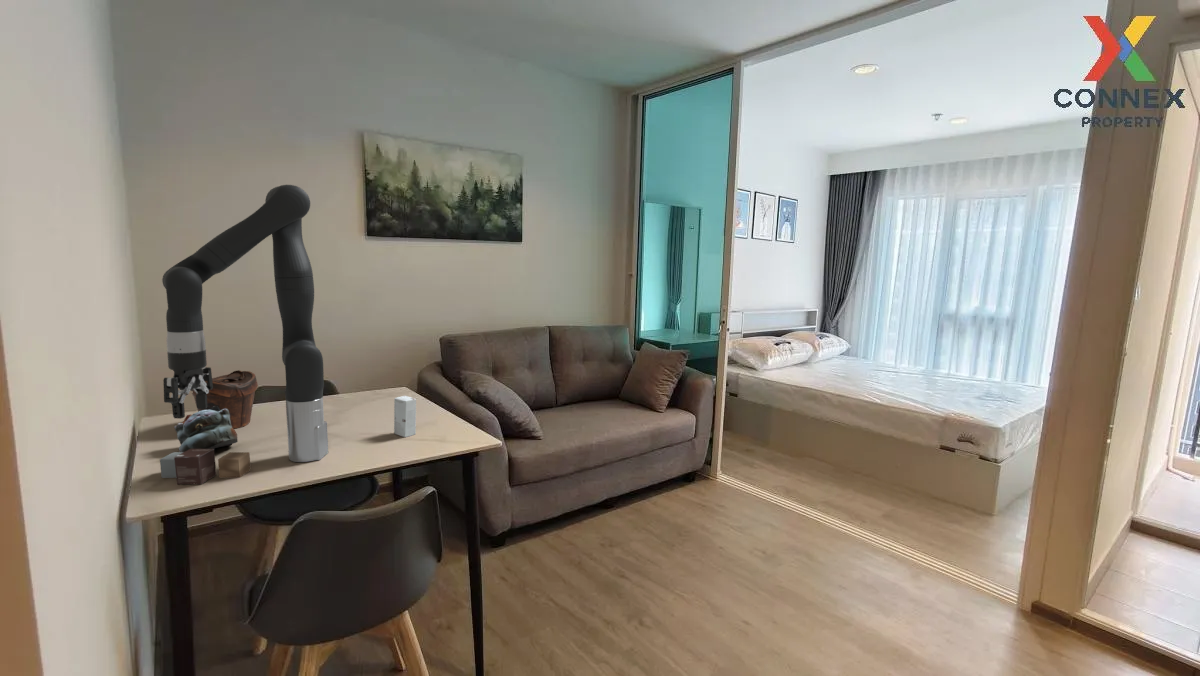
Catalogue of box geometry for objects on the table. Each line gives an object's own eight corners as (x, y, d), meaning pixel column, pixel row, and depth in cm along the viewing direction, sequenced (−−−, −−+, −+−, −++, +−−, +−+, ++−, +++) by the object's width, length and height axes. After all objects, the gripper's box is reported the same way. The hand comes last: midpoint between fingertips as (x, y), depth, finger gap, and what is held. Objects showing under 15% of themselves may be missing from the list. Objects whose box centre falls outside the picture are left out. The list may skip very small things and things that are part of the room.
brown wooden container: (266, 413, 192) (262, 364, 189) (252, 431, 174) (247, 377, 171) (207, 418, 186) (201, 367, 183) (186, 437, 168) (179, 381, 165)
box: (217, 475, 140) (215, 448, 139) (201, 485, 134) (198, 457, 133) (193, 475, 140) (190, 448, 139) (175, 484, 134) (173, 456, 133)
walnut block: (250, 470, 144) (249, 452, 143) (239, 477, 139) (238, 459, 139) (230, 470, 144) (229, 452, 143) (219, 477, 139) (218, 459, 138)
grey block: (195, 470, 143) (193, 452, 142) (182, 477, 138) (180, 459, 137) (175, 470, 143) (173, 452, 142) (161, 478, 138) (159, 459, 137)
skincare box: (393, 433, 176) (392, 397, 174) (405, 430, 180) (404, 395, 178) (405, 437, 172) (404, 401, 171) (417, 434, 176) (416, 398, 174)
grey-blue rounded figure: (170, 462, 147) (158, 414, 150) (192, 463, 159) (181, 418, 161) (230, 442, 152) (218, 396, 154) (248, 445, 163) (236, 401, 165)
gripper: (183, 354, 125) (187, 422, 128) (220, 344, 139) (224, 405, 142) (148, 353, 125) (154, 421, 127) (189, 344, 139) (194, 405, 141)
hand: (191, 413), depth 134 cm, fingers open, 8 cm apart
